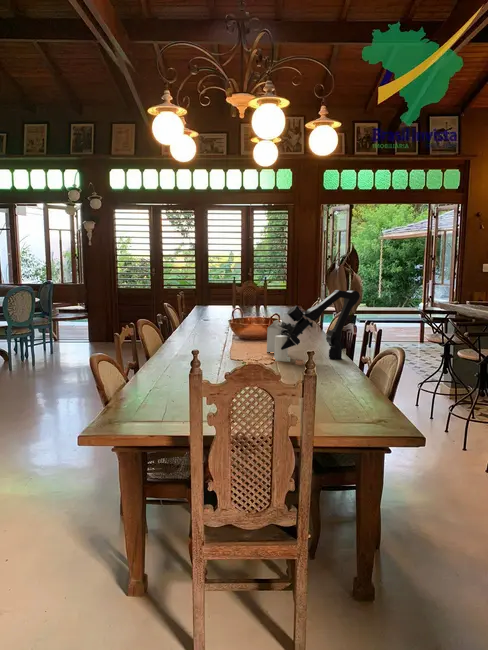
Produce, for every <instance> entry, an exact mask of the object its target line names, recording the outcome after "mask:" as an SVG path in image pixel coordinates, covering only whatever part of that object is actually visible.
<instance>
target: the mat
mask: <svg viewBox="0 0 488 650" xmlns="http://www.w3.org/2000/svg"><path fill="white" fill-rule="evenodd" d="M274 362H281V361H280V360H275V361H274ZM284 362H291V357H289V356H288V360H285V361H284Z"/></svg>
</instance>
